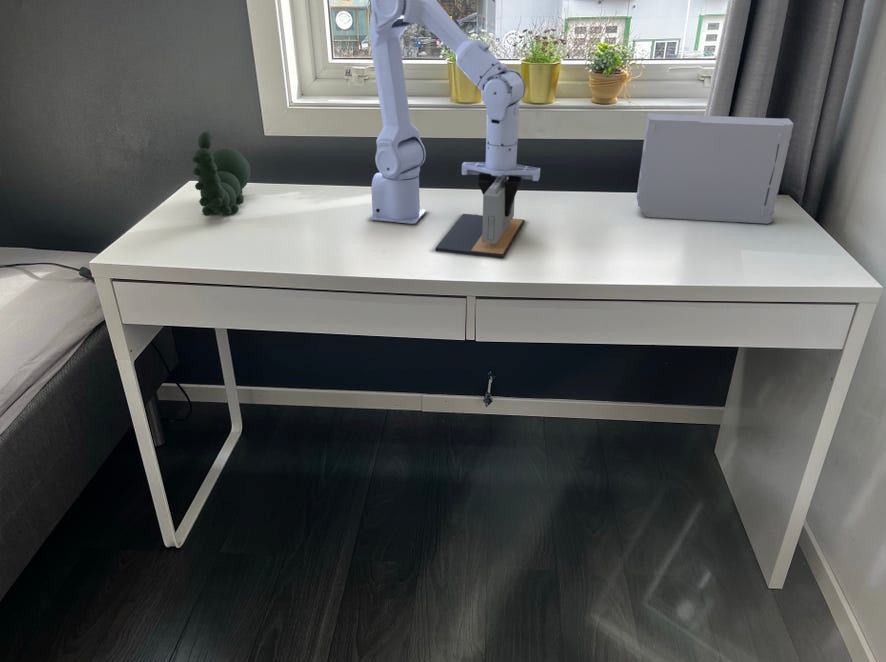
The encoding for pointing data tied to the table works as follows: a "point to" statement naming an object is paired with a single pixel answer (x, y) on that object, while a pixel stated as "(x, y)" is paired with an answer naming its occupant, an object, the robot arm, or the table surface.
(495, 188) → the cassette player
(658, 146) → the game console
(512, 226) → the desk mat
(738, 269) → the table surface
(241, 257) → the table surface
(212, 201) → the toy figurine
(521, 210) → the table surface
